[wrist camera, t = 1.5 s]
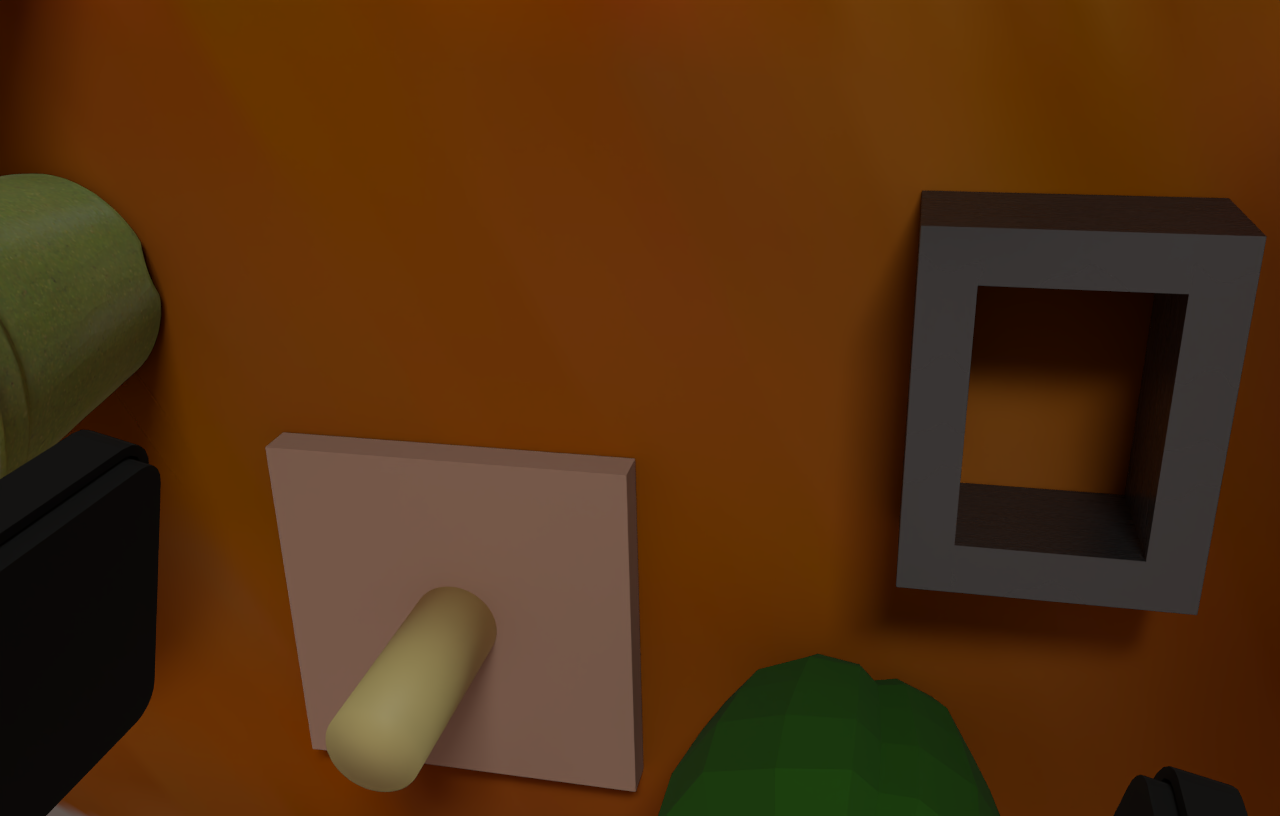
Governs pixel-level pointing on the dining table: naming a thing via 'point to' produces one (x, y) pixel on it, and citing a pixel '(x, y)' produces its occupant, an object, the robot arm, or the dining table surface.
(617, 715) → the keeper
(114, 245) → the plant pot
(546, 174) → the dining table surface
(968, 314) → the dark grey rectangular frame
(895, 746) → the bell pepper
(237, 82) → the dining table surface
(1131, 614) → the dining table surface
